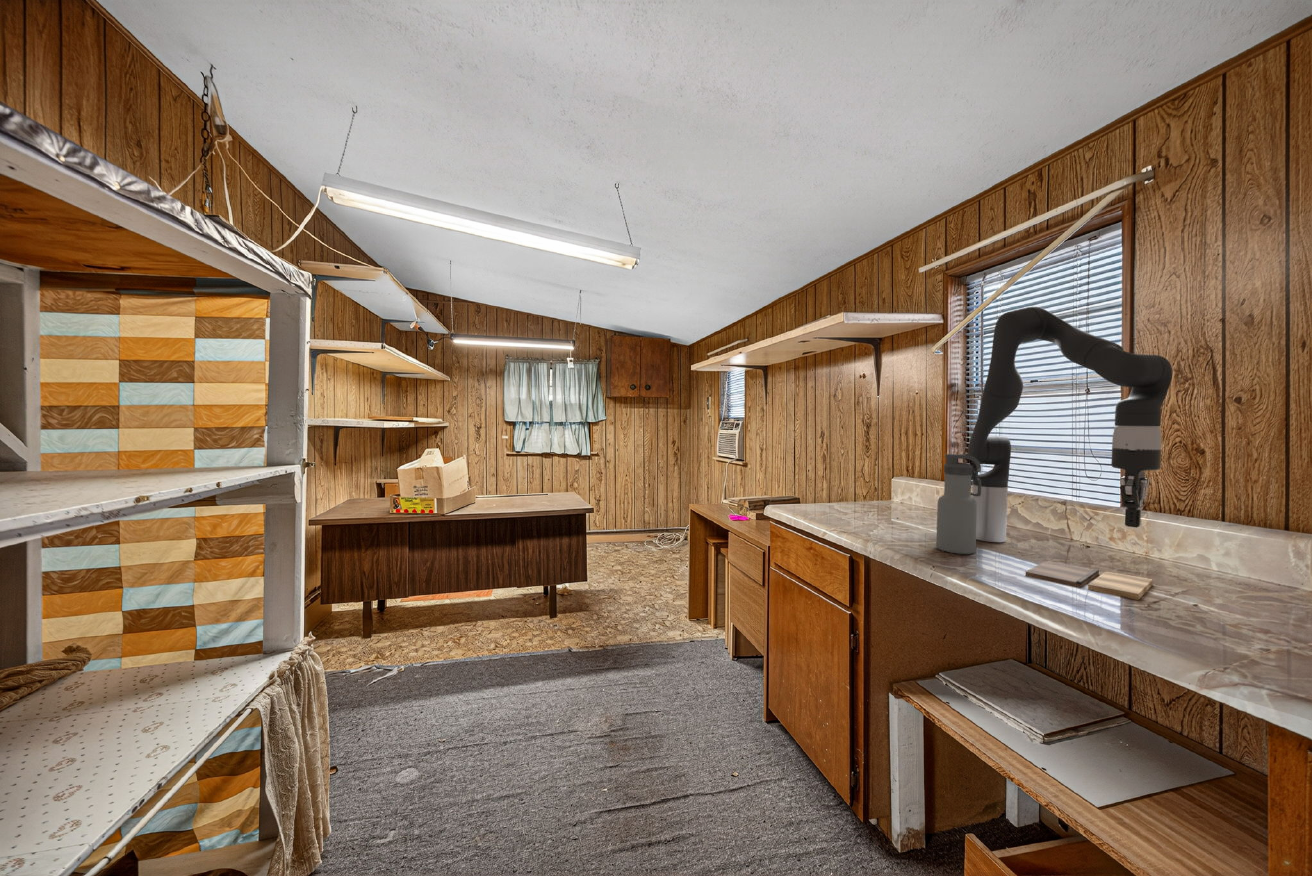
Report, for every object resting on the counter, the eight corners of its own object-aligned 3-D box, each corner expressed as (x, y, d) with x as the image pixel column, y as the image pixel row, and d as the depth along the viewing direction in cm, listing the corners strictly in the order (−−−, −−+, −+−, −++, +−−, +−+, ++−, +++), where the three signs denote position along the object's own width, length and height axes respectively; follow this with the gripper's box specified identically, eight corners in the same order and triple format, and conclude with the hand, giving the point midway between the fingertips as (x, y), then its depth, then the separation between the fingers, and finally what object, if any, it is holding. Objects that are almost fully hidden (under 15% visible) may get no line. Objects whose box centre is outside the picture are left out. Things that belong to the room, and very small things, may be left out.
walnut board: (1046, 568, 123) (1046, 559, 123) (1098, 578, 115) (1099, 569, 115) (1025, 580, 113) (1025, 570, 113) (1080, 592, 105) (1081, 581, 105)
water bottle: (965, 546, 144) (968, 453, 143) (984, 555, 134) (988, 456, 133) (930, 545, 145) (932, 453, 144) (946, 554, 135) (949, 455, 134)
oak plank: (1105, 579, 114) (1105, 571, 114) (1152, 588, 108) (1152, 579, 108) (1087, 593, 104) (1088, 584, 104) (1138, 603, 98) (1138, 593, 98)
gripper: (1119, 445, 111) (1115, 520, 111) (1105, 447, 103) (1101, 527, 103) (1166, 447, 105) (1162, 526, 105) (1155, 448, 97) (1151, 533, 97)
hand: (1132, 526), depth 104 cm, fingers closed
